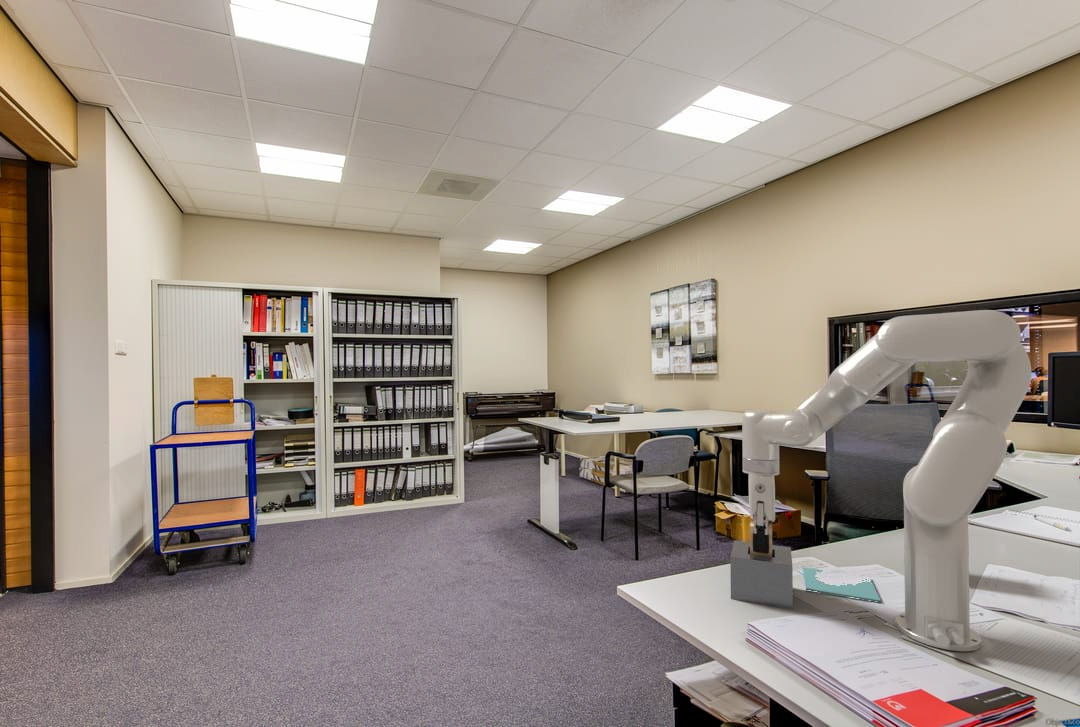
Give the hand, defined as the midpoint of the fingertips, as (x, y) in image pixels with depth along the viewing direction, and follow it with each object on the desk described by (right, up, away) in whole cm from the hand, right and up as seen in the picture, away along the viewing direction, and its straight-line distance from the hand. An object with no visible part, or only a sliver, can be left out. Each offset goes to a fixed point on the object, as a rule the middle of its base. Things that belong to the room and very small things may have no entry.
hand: (761, 547), depth 113 cm
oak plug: (0, -6, 0) cm, 6 cm away
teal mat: (+20, -10, +4) cm, 22 cm away
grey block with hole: (0, -10, 0) cm, 10 cm away
